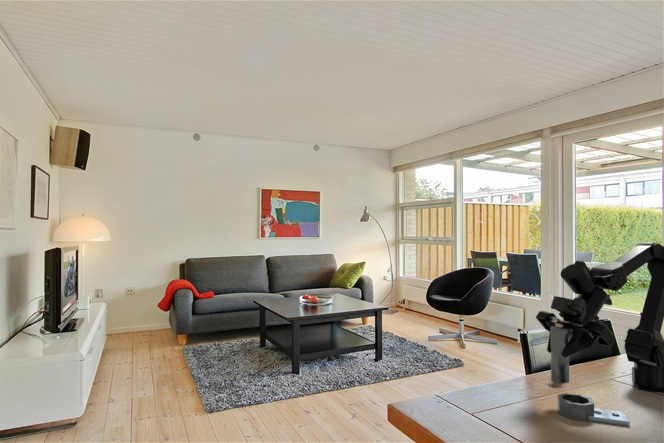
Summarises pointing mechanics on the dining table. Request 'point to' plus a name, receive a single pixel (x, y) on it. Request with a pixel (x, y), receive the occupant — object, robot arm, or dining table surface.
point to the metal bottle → (559, 353)
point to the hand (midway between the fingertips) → (555, 353)
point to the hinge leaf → (588, 410)
